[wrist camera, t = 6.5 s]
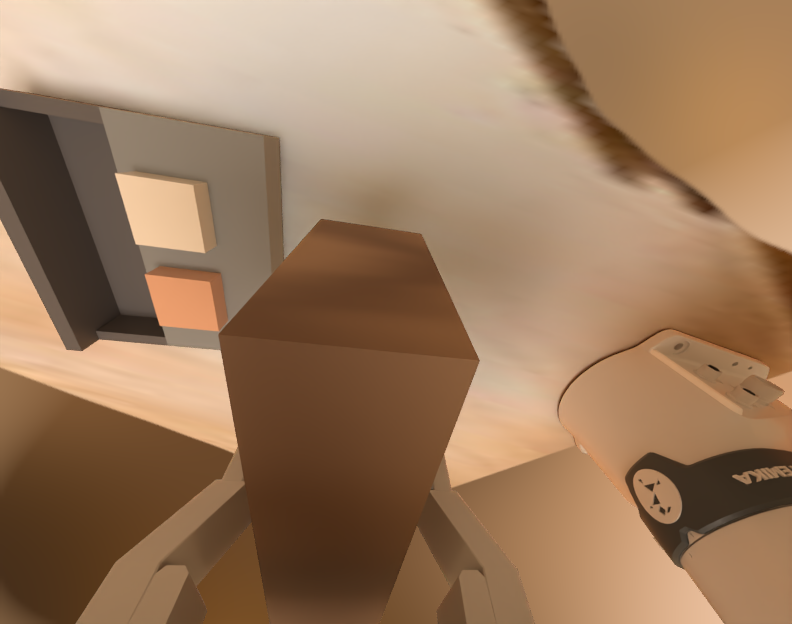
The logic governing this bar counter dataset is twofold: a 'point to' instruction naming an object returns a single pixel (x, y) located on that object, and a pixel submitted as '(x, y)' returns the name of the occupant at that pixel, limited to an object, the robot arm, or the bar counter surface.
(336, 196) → the bar counter surface
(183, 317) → the tile terracotta
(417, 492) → the long wooden plank
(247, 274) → the grey tray with lip
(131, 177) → the tile cream
